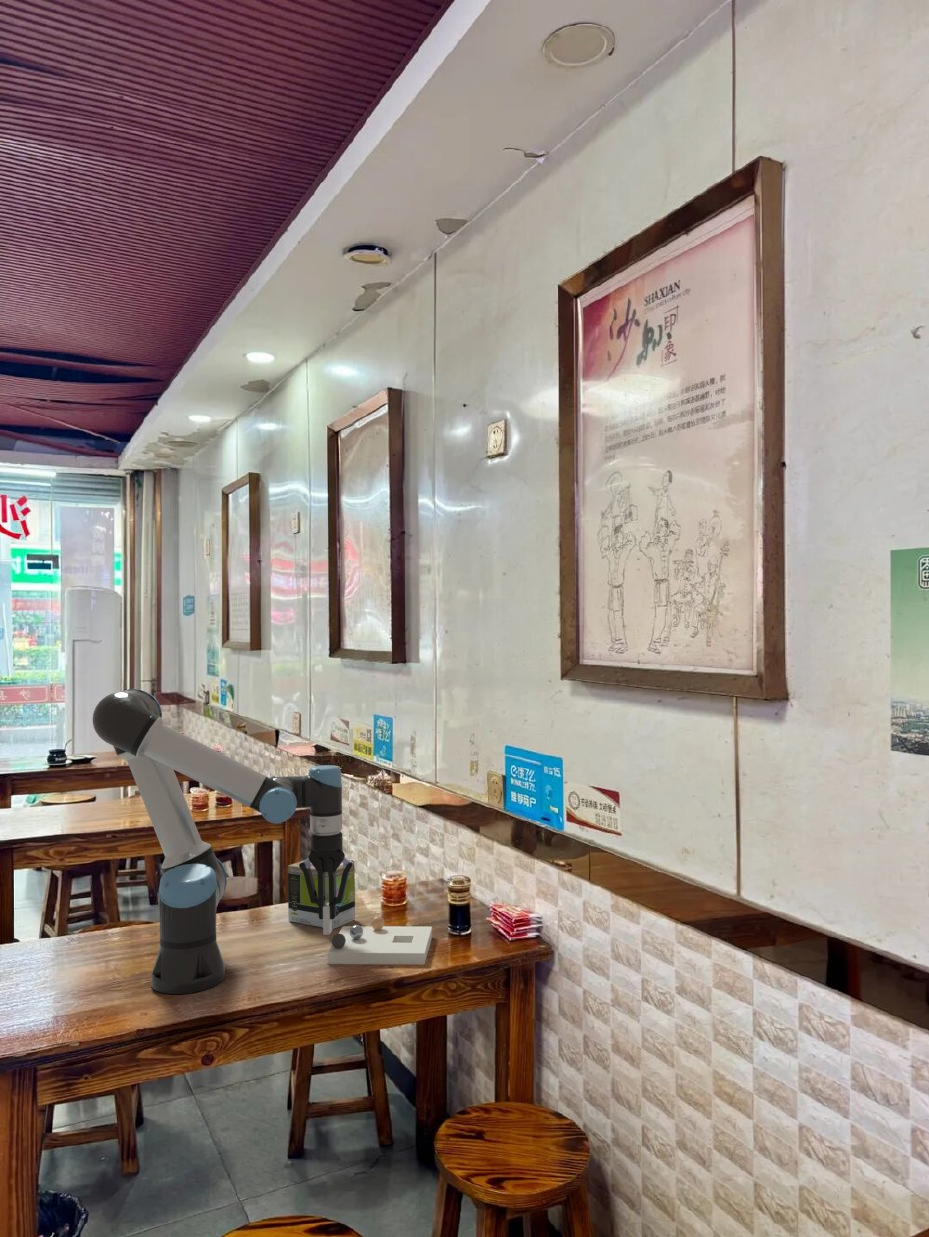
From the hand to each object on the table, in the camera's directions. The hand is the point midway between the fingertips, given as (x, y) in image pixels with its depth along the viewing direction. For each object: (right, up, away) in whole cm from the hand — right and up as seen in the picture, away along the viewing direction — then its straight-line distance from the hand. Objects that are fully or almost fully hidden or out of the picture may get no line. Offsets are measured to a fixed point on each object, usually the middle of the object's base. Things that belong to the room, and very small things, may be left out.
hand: (327, 932), depth 203 cm
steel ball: (+7, 0, 0) cm, 7 cm away
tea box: (-5, -5, +21) cm, 22 cm away
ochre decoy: (+11, 0, +6) cm, 13 cm away
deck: (+13, -4, -1) cm, 13 cm away
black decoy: (+4, 0, -6) cm, 7 cm away
